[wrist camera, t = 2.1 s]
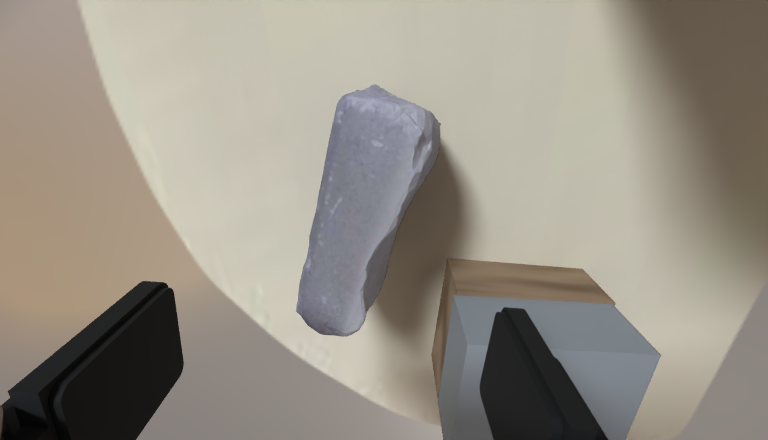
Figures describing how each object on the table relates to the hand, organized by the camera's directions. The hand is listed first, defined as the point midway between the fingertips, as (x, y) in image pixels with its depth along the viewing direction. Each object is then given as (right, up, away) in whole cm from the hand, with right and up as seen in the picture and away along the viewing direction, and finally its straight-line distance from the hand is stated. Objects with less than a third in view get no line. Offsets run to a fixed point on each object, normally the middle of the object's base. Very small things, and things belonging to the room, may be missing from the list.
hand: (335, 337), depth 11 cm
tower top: (+10, -6, +14) cm, 19 cm away
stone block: (+1, +6, +14) cm, 16 cm away
